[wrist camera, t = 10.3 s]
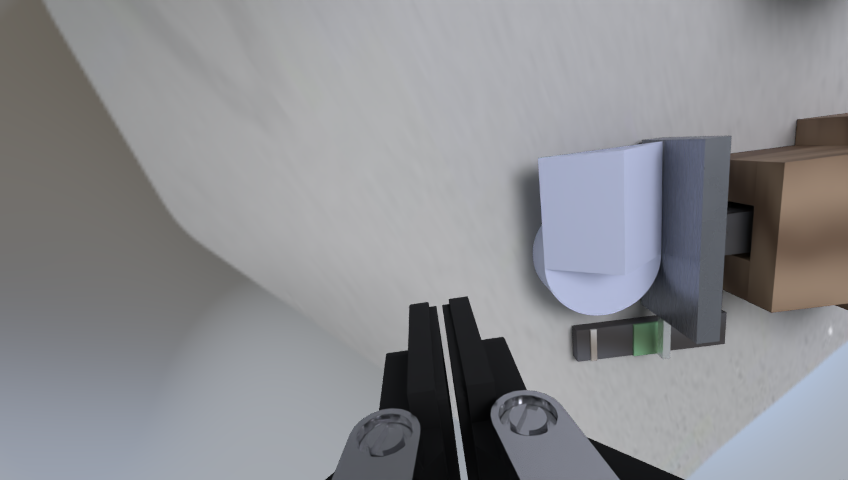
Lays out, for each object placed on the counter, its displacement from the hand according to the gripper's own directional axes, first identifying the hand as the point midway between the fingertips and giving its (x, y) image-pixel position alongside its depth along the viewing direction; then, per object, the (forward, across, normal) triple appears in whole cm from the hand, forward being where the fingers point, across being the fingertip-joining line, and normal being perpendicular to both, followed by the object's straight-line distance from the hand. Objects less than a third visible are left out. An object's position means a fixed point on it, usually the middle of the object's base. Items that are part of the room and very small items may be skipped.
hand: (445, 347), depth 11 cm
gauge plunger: (+21, -23, +6) cm, 32 cm away
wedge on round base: (+22, -13, +4) cm, 26 cm away
